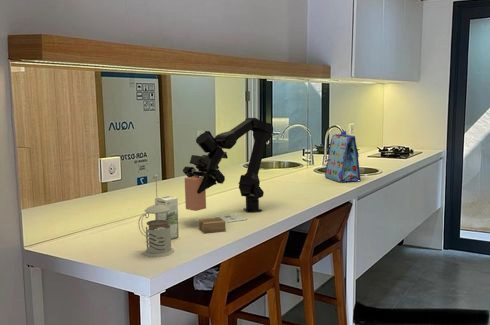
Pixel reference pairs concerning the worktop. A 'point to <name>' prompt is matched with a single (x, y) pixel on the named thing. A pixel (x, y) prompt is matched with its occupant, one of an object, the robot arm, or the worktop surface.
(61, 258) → the worktop surface
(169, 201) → the syrup box
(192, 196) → the tall brick
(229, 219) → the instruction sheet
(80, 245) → the worktop surface
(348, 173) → the lunch bag
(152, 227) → the french press
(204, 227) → the base brick
